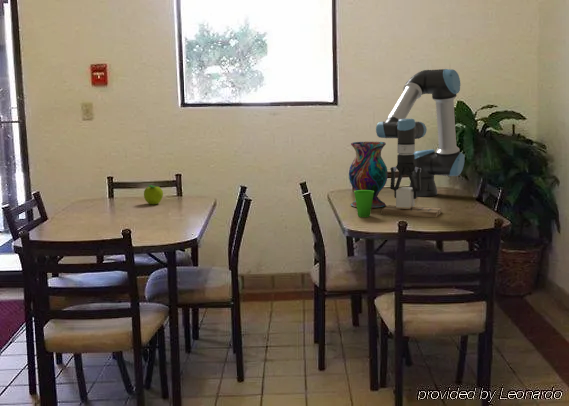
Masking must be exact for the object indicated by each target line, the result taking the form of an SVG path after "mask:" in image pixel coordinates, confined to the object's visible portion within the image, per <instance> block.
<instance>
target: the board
mask: <svg viewBox="0 0 569 406" xmlns="http://www.w3.org/2000/svg"><path fill="white" fill-rule="evenodd" d="M441 213H442V207H429V206H428V207H425V206H413V207H411V208H410V209H402V208H396V205H393V204H392V205H390V204H388V205H387V206H384V208H382V209H381V215H388V214H391V216H404V217H405V216H408V217H424V218H425V217H426V218H437V217H439V215H440V214H441Z"/></svg>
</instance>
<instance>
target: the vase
mask: <svg viewBox="0 0 569 406" xmlns="http://www.w3.org/2000/svg"><path fill="white" fill-rule="evenodd" d="M350 146H351V147H352V148H353V149H354V151H355V156H354V159H353V161H352V162H351V164H350V166H349V170H348V178H349V179H348V180H349V183H350V185H351V186H352V188H353V189H354V191H356V190H372V191H374V194H373V200H372V206H371V209H374V208H375V209H376V208H381V207H386V205H387V204H386V203H385V202H384V201H382V200H381V199H380V198H379V197H378V195H379V194H380V192H381V191H382V190H383V189H384V187H385V186H386V185H387V181H388V178H389V177H388V175H389V172H388V167H387V164H386V163H385V161H384V159H383V157H382V150H383V149H384V147H385V146H386V142H384V141H355V142H351V143H350ZM350 206H352V207H354V208H357V206H356V200H354V201H353V202H351V203H350Z"/></svg>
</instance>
